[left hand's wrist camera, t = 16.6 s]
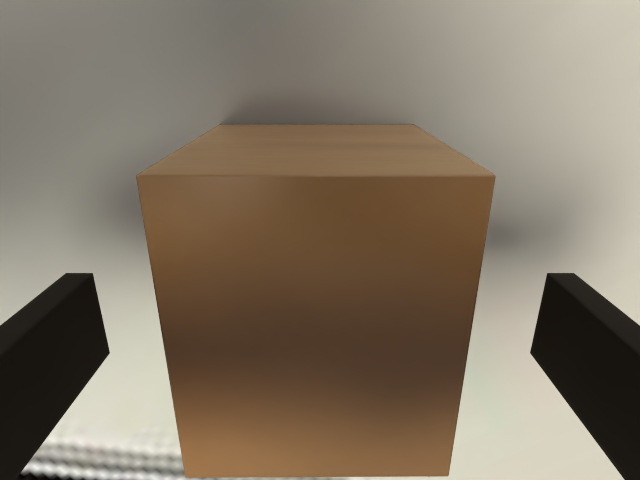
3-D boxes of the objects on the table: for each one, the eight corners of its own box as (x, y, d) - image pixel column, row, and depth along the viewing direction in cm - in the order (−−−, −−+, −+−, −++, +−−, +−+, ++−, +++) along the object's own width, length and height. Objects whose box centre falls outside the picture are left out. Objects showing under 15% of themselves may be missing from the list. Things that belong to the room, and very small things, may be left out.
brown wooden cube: (219, 124, 17) (134, 175, 9) (414, 124, 17) (496, 174, 9) (235, 319, 20) (184, 478, 12) (398, 319, 20) (449, 477, 12)
